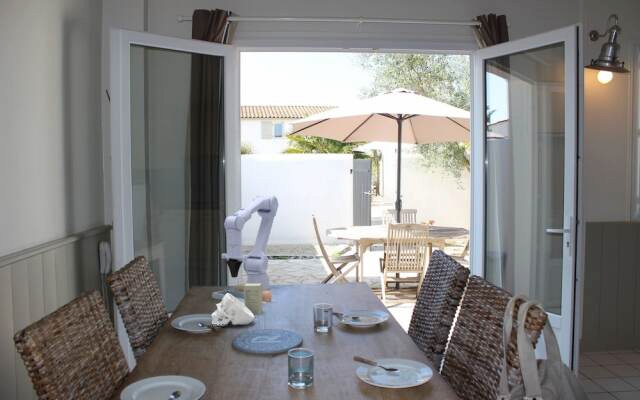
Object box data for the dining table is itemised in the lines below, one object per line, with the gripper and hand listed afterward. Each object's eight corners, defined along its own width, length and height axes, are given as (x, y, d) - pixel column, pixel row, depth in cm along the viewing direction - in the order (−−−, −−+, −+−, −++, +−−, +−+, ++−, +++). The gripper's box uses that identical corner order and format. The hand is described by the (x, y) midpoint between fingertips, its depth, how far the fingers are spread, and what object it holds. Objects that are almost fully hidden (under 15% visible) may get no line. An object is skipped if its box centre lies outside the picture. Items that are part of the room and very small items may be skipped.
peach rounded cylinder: (266, 299, 248) (266, 289, 248) (273, 301, 245) (273, 291, 245) (259, 301, 245) (259, 291, 245) (266, 302, 242) (266, 292, 242)
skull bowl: (207, 317, 219) (225, 288, 220) (239, 336, 221) (257, 308, 221) (204, 324, 209) (223, 294, 209) (238, 345, 210) (257, 315, 211)
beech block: (240, 293, 259) (240, 284, 259) (247, 294, 257) (247, 285, 257) (234, 295, 256) (234, 286, 256) (242, 296, 254) (242, 286, 254)
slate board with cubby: (240, 295, 263) (240, 287, 262) (277, 304, 246) (277, 295, 246) (212, 301, 252) (212, 292, 252) (249, 310, 235) (249, 301, 235)
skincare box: (263, 315, 228) (262, 283, 227) (260, 318, 224) (260, 285, 223) (246, 314, 229) (246, 282, 228) (243, 317, 224) (243, 285, 224)
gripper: (215, 244, 253) (216, 276, 254) (237, 247, 244) (238, 280, 244) (229, 242, 259) (229, 274, 259) (251, 245, 249) (251, 278, 249)
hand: (234, 277), depth 252 cm, fingers closed
